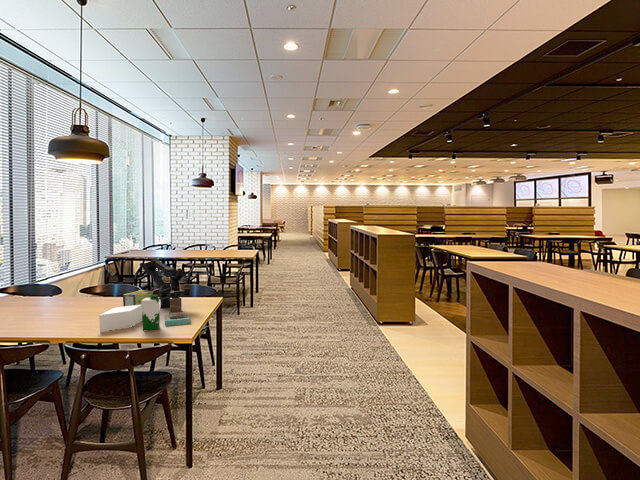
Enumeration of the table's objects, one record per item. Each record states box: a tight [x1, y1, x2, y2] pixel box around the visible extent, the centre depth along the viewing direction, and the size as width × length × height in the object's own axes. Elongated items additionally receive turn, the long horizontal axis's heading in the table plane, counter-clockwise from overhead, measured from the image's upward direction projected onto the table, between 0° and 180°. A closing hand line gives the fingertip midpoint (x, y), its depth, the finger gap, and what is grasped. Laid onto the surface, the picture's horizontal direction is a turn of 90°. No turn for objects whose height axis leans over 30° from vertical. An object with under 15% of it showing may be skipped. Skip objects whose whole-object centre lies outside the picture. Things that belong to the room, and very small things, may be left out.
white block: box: [98, 304, 142, 333], centre depth 237 cm, size 14×29×10 cm, turn 153°
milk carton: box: [141, 294, 161, 332], centre depth 230 cm, size 9×9×20 cm
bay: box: [164, 313, 191, 327], centre depth 246 cm, size 15×14×3 cm
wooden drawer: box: [169, 297, 184, 320], centre depth 256 cm, size 14×8×11 cm, turn 22°
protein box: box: [122, 289, 154, 307], centre depth 258 cm, size 10×15×16 cm
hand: (176, 303), depth 264 cm, fingers closed
